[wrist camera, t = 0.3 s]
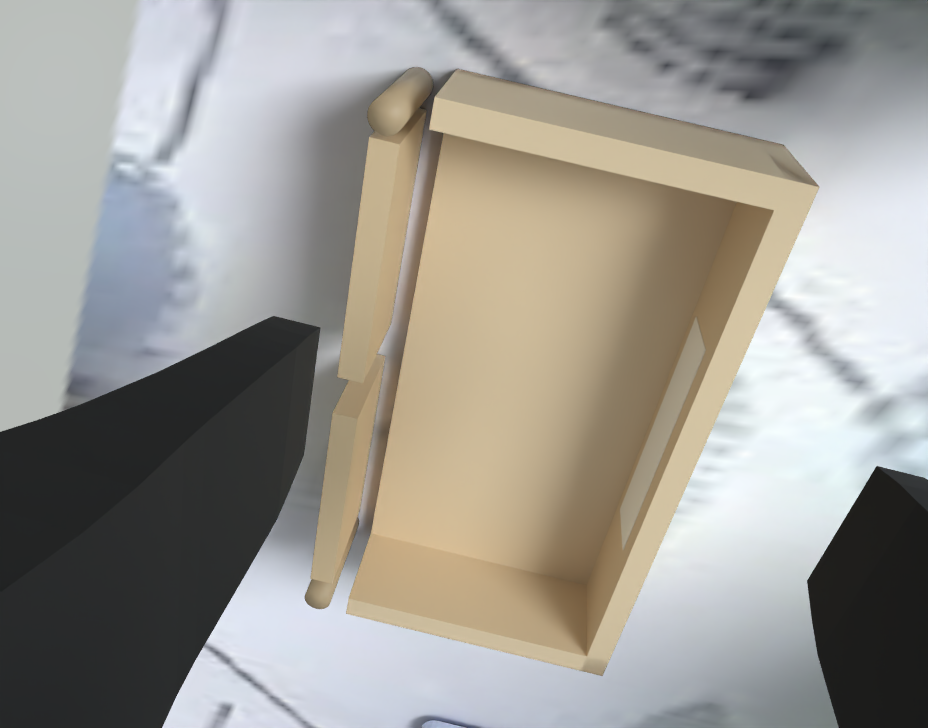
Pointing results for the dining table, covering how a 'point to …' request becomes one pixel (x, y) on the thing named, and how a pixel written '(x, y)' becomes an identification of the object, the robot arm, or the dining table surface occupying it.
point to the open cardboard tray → (565, 361)
